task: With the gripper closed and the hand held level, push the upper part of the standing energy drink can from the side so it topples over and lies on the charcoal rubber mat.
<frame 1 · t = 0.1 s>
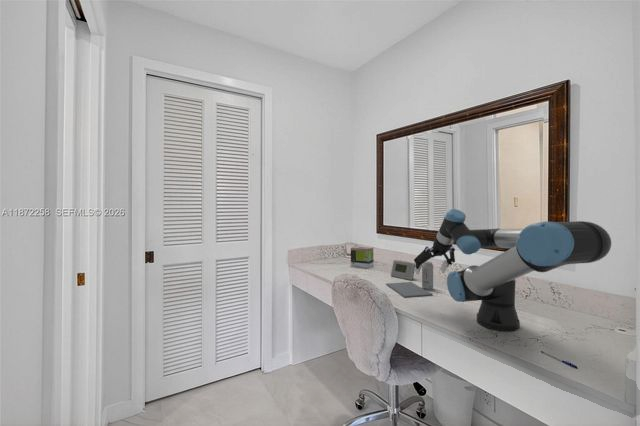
hand: (429, 271, 147), 15 cm above the table, tool tilted 35°, fingers open, 13 cm apart
screwdriver: (558, 361, 94), on the table
energy drink can: (427, 288, 171), on the table
digital clock: (402, 278, 195), on the table
rubber mat: (407, 289, 169), on the table
tea box: (362, 266, 229), on the table
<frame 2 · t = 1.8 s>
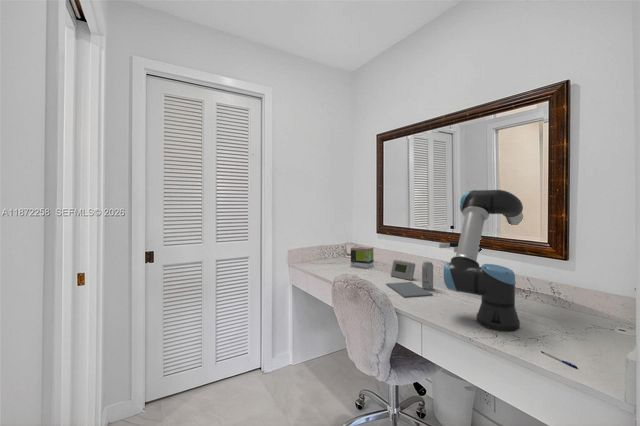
hand: (446, 247, 172), 23 cm above the table, tool horizontal, fingers open, 13 cm apart
nothing on the table moved.
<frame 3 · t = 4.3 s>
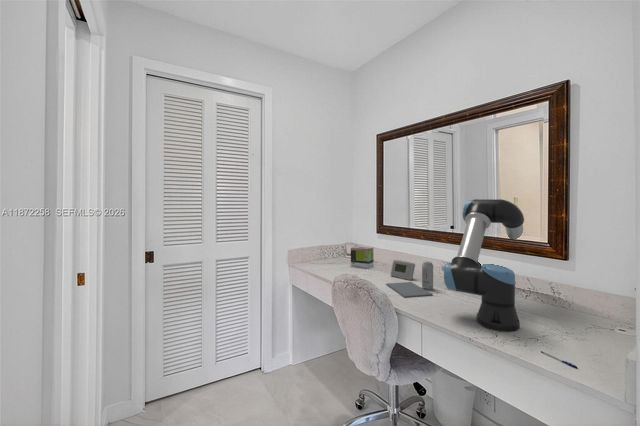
hand: (442, 268, 172), 11 cm above the table, tool horizontal, fingers closed
nothing on the table moved.
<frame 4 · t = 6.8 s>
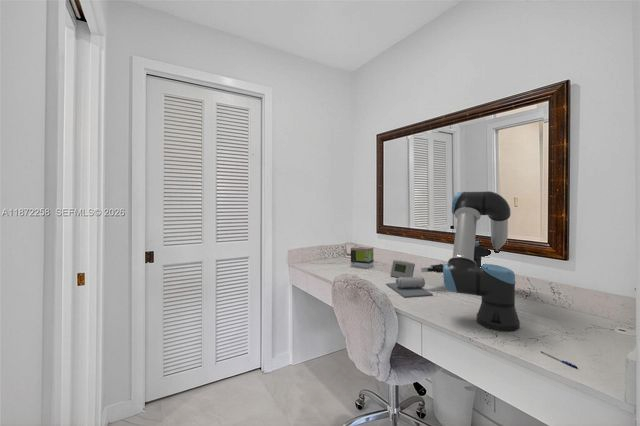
hand: (421, 269, 170), 11 cm above the table, tool horizontal, fingers closed
energy drink can: (423, 282, 170), point 4 cm above the table, touching rubber mat
everything else where it was.
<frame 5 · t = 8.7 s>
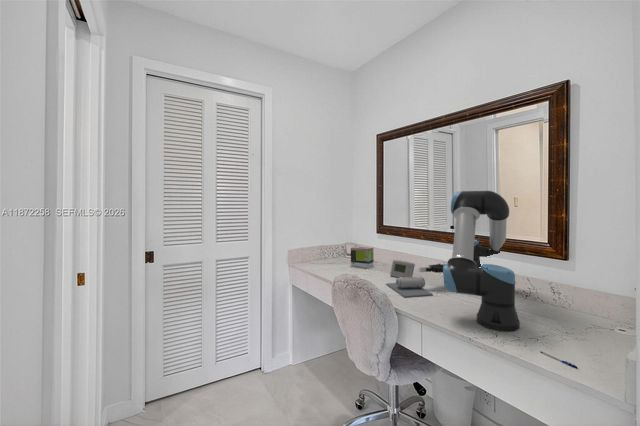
hand: (419, 269, 169), 11 cm above the table, tool horizontal, fingers closed
nothing on the table moved.
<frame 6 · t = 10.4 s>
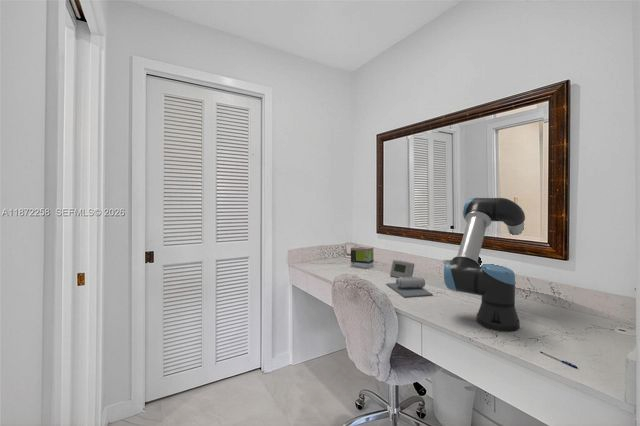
hand: (444, 262, 172), 14 cm above the table, tool horizontal, fingers closed
nothing on the table moved.
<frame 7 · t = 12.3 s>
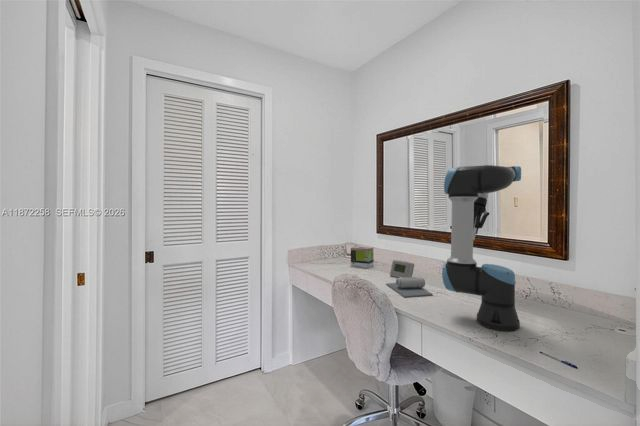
hand: (472, 239, 164), 29 cm above the table, tool tilted 20°, fingers closed
nothing on the table moved.
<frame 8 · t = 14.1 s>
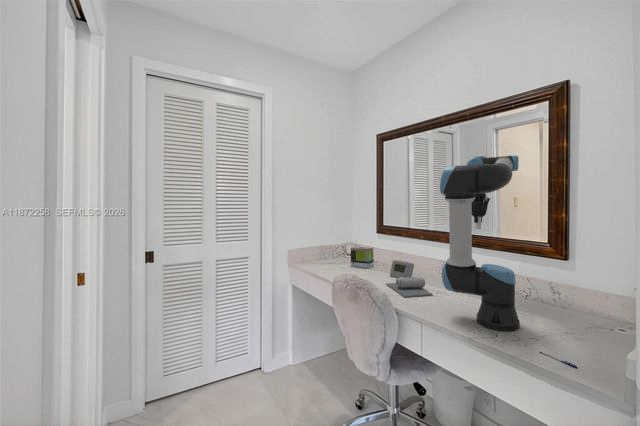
hand: (477, 228, 164), 34 cm above the table, tool pointing down, fingers closed
nothing on the table moved.
at the end: energy drink can tilted 90°; energy drink can touching rubber mat; energy drink can inside the target area (6.1 cm from its centre), point 3.7 cm above the table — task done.
